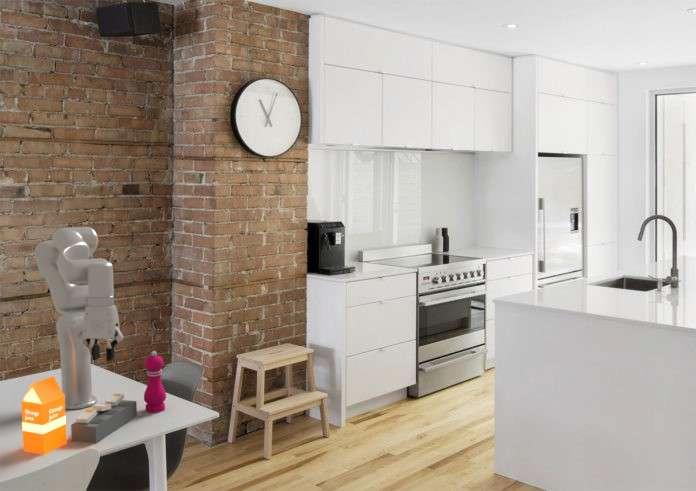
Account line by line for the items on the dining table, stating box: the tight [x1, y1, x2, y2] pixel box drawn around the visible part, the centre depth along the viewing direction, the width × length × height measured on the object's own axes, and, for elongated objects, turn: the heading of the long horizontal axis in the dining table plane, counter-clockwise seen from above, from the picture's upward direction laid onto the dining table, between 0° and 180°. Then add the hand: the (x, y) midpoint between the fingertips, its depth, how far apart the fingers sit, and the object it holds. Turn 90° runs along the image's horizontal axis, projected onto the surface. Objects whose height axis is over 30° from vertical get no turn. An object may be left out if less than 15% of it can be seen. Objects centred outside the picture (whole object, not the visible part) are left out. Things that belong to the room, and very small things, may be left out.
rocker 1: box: [75, 408, 97, 423], centre depth 211 cm, size 4×5×2 cm
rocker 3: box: [104, 392, 125, 406], centre depth 226 cm, size 4×5×2 cm
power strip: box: [70, 399, 138, 444], centre depth 222 cm, size 8×30×6 cm, turn 168°
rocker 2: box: [91, 403, 111, 411], centre depth 219 cm, size 4×5×2 cm
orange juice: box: [20, 375, 67, 456], centre depth 203 cm, size 8×9×20 cm
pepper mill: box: [143, 350, 167, 414], centre depth 235 cm, size 7×7×20 cm
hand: (103, 359), depth 219 cm, fingers open, 4 cm apart
